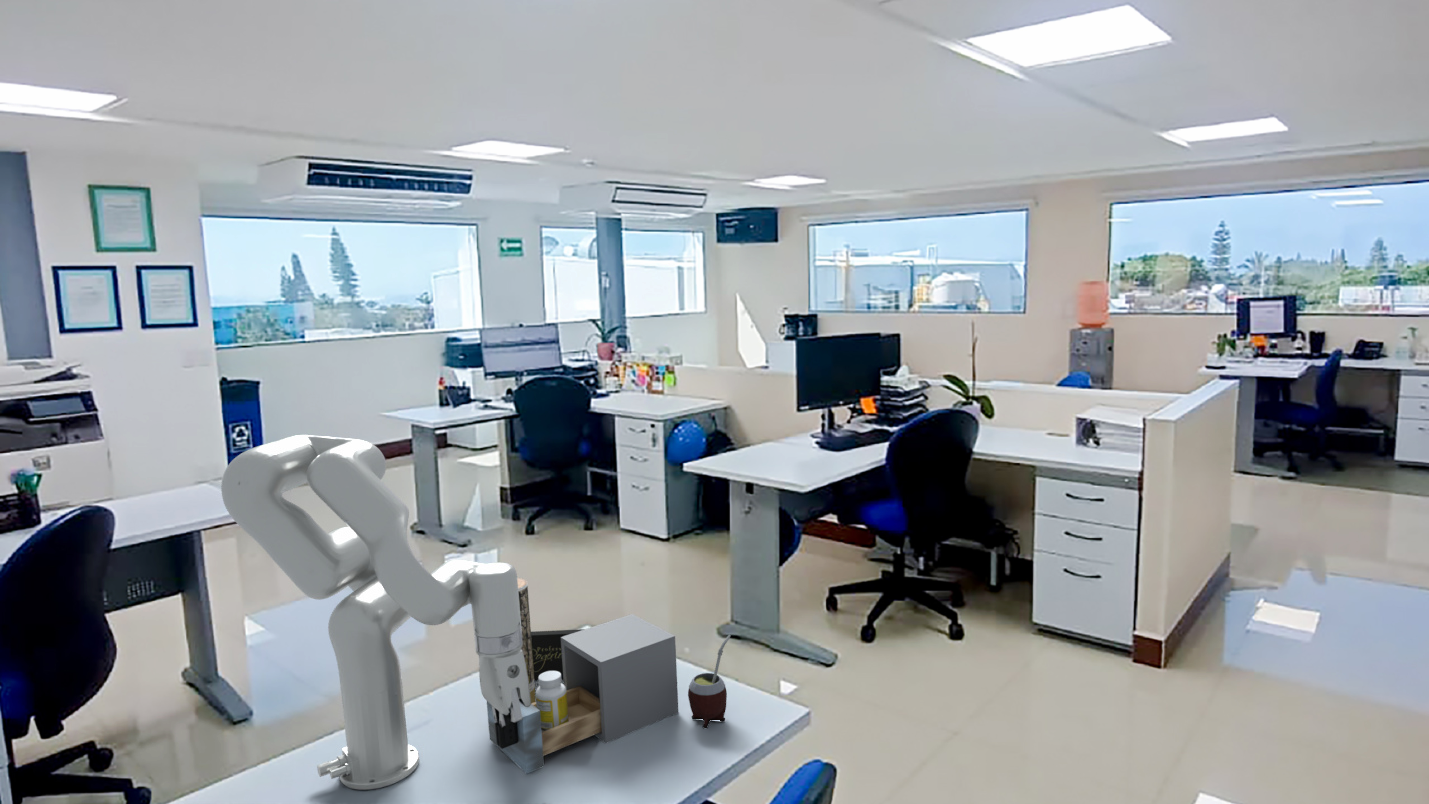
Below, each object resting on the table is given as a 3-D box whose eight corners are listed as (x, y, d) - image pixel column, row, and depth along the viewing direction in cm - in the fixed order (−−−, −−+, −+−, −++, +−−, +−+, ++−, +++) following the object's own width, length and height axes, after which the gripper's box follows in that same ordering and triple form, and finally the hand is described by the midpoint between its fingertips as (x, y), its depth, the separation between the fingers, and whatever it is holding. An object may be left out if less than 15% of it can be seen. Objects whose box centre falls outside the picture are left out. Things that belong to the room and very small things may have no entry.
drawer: (517, 777, 141) (513, 720, 139) (481, 742, 152) (476, 689, 150) (617, 735, 153) (614, 682, 151) (577, 705, 164) (573, 656, 162)
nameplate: (517, 682, 176) (514, 636, 175) (519, 678, 178) (516, 632, 176) (619, 677, 177) (617, 631, 175) (620, 673, 178) (617, 627, 177)
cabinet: (605, 743, 151) (601, 662, 149) (565, 713, 162) (560, 637, 160) (678, 712, 161) (675, 635, 159) (635, 685, 172) (632, 614, 170)
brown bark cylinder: (540, 700, 168) (532, 578, 164) (529, 718, 161) (520, 591, 157) (506, 699, 168) (497, 578, 165) (494, 717, 162) (484, 591, 158)
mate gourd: (685, 728, 155) (682, 650, 153) (695, 706, 163) (692, 632, 161) (725, 731, 154) (722, 652, 152) (733, 709, 161) (731, 634, 159)
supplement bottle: (565, 717, 156) (562, 666, 155) (571, 731, 151) (568, 679, 150) (535, 723, 154) (532, 672, 153) (541, 738, 149) (537, 685, 148)
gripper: (540, 646, 136) (549, 753, 139) (500, 619, 148) (509, 719, 150) (496, 661, 132) (506, 771, 134) (458, 632, 143) (468, 734, 146)
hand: (507, 743), depth 142 cm, fingers closed
